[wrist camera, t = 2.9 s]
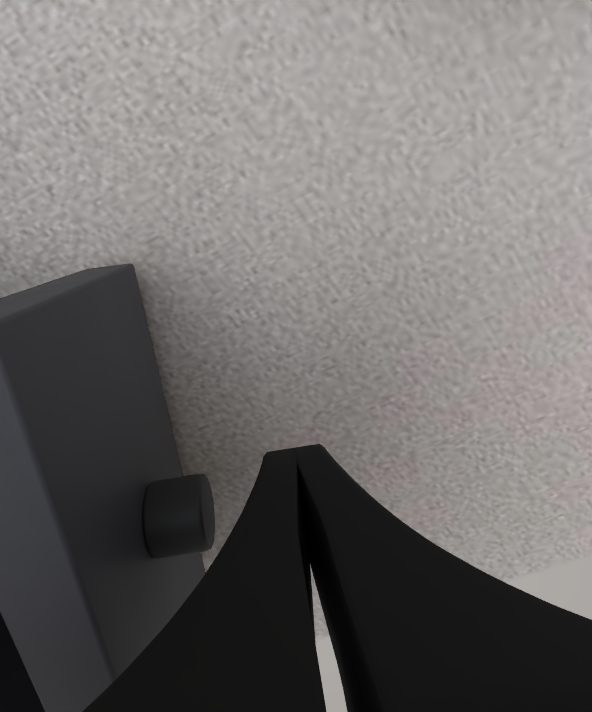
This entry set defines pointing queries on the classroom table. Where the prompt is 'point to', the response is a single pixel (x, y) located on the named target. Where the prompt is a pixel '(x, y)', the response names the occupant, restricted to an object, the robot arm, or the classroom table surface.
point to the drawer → (87, 492)
